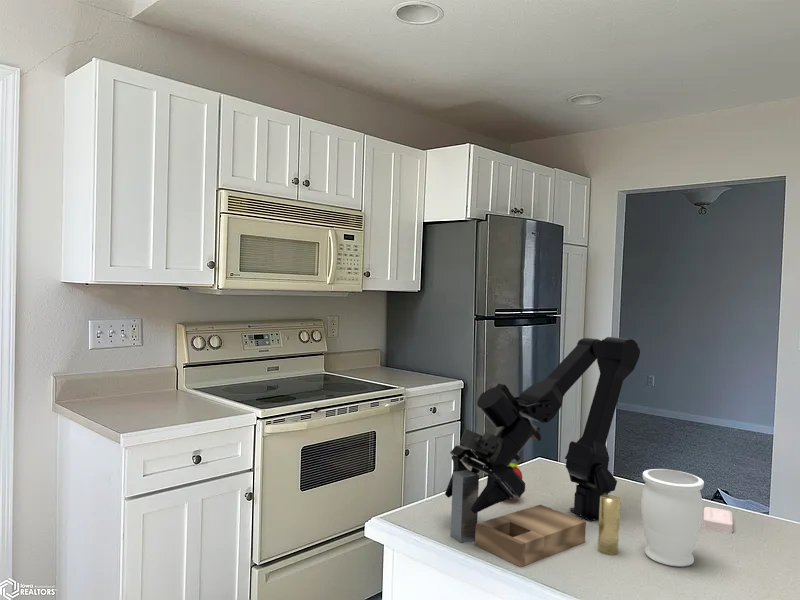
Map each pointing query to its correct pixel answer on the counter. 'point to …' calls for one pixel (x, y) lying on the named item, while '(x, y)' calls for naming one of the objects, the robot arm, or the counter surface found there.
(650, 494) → the jar
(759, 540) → the counter surface
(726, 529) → the soap bar
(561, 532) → the socket block
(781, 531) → the counter surface
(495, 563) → the counter surface
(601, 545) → the round bit
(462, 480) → the square bit
